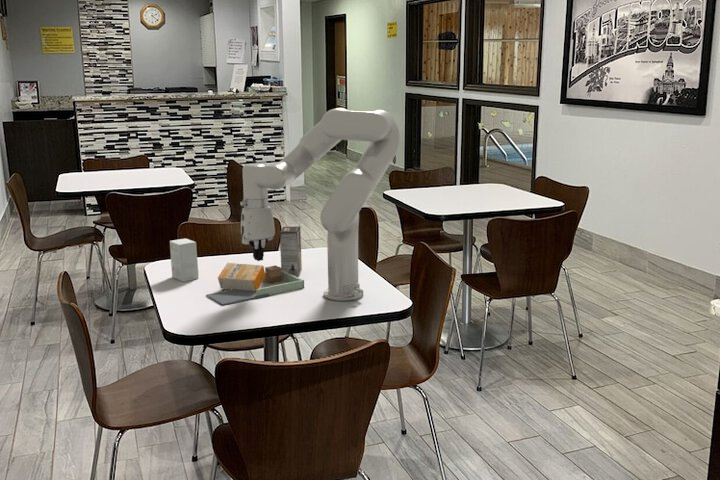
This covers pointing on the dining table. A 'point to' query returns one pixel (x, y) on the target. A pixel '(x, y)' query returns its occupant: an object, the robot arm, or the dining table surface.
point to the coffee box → (291, 250)
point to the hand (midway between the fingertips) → (258, 259)
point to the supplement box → (241, 276)
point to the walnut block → (273, 274)
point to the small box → (184, 259)
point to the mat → (234, 296)
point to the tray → (282, 285)
